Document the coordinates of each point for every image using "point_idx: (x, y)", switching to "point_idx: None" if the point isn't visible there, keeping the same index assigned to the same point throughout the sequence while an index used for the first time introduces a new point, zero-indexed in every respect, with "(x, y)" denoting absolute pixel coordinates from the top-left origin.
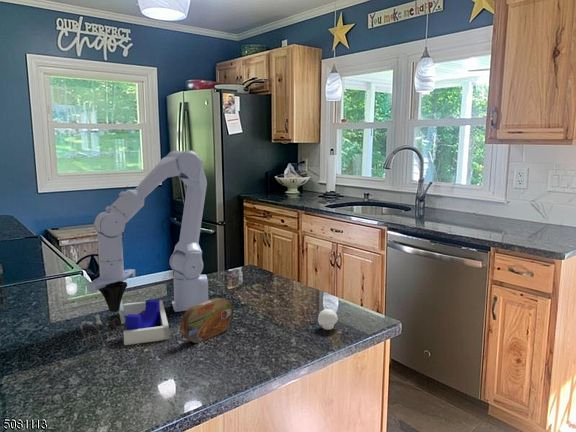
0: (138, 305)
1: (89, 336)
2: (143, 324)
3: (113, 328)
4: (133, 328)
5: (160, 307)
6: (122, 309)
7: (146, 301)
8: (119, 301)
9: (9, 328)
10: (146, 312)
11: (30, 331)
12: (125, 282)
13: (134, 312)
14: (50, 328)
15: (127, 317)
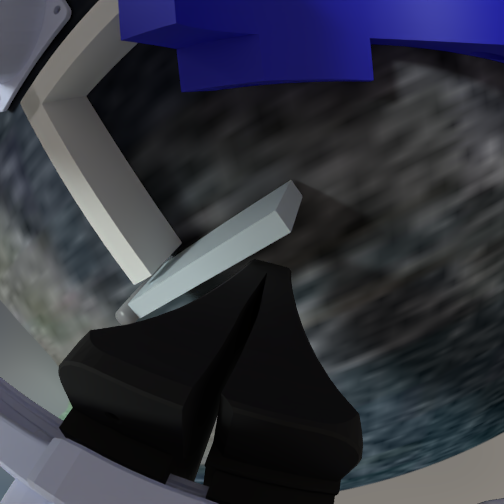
0: (106, 194)
1: (467, 283)
2: (352, 8)
3: (365, 213)
4: None
5: (113, 8)
6: (262, 231)
7: (173, 17)
8: (243, 291)
9: (364, 481)
10: (241, 20)
11: (390, 452)
12: (68, 381)
13: (143, 201)
14: (369, 430)
15: None
